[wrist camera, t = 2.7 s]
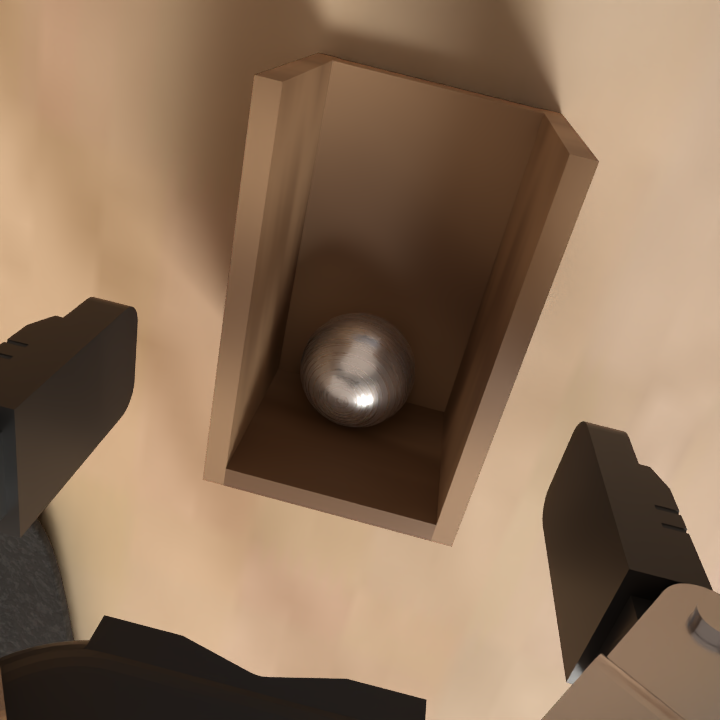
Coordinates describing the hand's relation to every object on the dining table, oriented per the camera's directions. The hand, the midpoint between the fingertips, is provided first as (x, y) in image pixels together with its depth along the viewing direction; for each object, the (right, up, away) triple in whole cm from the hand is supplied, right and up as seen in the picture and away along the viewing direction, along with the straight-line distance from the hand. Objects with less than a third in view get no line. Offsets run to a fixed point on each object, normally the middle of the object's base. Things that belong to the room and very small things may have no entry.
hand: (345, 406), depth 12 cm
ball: (0, +1, +6) cm, 6 cm away
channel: (+1, +4, +6) cm, 7 cm away
